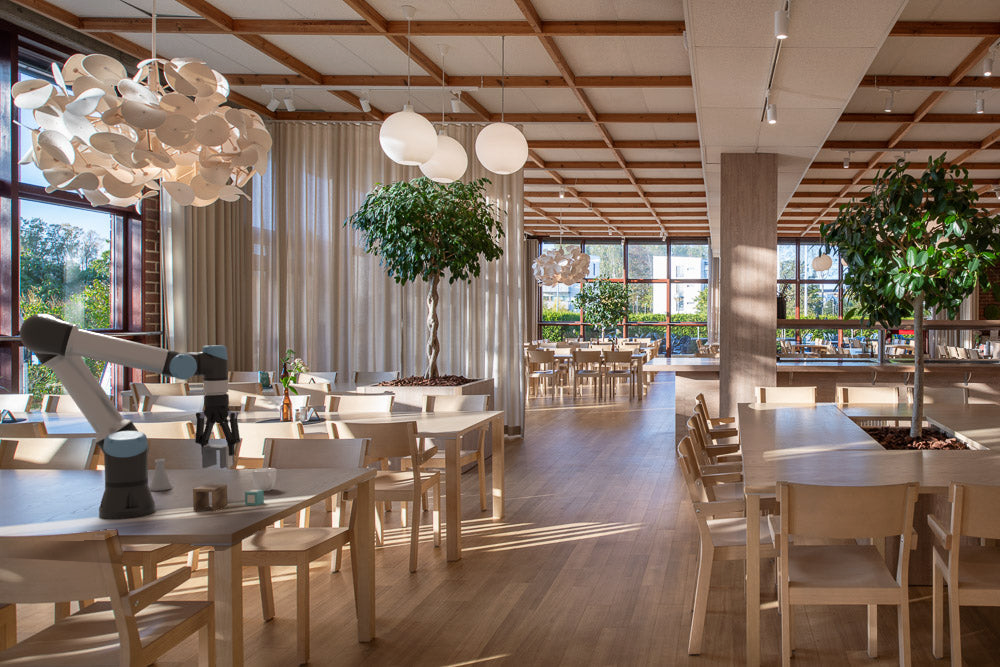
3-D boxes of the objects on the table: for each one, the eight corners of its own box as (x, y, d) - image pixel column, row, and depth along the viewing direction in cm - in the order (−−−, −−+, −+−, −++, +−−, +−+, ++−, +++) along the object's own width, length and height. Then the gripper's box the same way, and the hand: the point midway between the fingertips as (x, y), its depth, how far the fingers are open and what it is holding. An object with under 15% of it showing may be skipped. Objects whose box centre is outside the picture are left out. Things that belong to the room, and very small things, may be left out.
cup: (271, 486, 293) (271, 466, 293) (282, 491, 285) (282, 470, 285) (248, 489, 288) (248, 469, 288) (259, 494, 280) (259, 473, 280)
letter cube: (257, 505, 263) (256, 492, 263) (245, 505, 264) (244, 491, 264) (263, 503, 267) (263, 489, 267) (252, 502, 268) (251, 489, 268)
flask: (164, 491, 288) (163, 461, 288) (144, 491, 289) (143, 461, 289) (176, 487, 295) (175, 458, 295) (157, 487, 296) (156, 457, 296)
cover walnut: (214, 511, 256) (214, 489, 256) (193, 510, 257) (193, 488, 257) (227, 506, 263) (227, 484, 263) (206, 505, 264) (206, 484, 264)
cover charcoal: (222, 468, 273) (221, 447, 273) (202, 468, 275) (201, 447, 275) (234, 464, 280) (233, 444, 280) (214, 464, 281) (214, 444, 281)
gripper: (250, 392, 278) (252, 464, 279) (194, 392, 283) (197, 463, 283) (238, 394, 271) (240, 468, 271) (181, 394, 275) (183, 467, 276)
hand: (218, 465), depth 277 cm, fingers closed on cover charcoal, 7 cm apart
